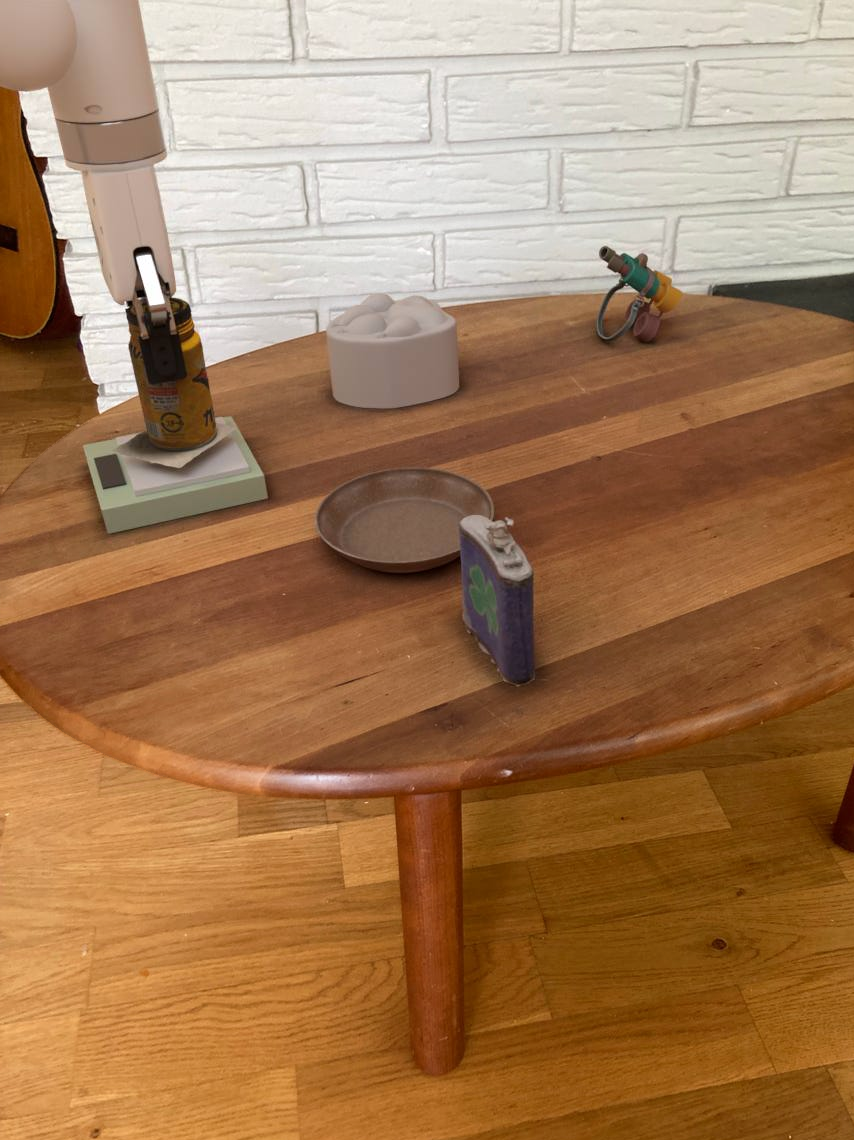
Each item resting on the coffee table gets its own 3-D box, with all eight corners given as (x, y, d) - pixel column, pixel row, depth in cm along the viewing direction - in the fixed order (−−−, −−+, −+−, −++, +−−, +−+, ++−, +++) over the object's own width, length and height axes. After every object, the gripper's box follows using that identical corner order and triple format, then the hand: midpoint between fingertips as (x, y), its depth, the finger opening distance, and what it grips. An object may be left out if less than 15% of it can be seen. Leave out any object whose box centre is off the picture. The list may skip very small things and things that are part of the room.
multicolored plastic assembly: (639, 368, 122) (693, 292, 117) (574, 331, 118) (627, 250, 113) (620, 337, 129) (670, 263, 124) (558, 300, 125) (607, 223, 121)
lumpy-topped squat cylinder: (468, 393, 113) (465, 312, 107) (350, 418, 109) (341, 335, 103) (431, 357, 120) (427, 280, 115) (319, 379, 116) (310, 300, 111)
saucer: (409, 611, 82) (407, 581, 80) (281, 545, 90) (277, 517, 88) (530, 530, 91) (530, 503, 89) (404, 477, 99) (402, 450, 97)
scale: (108, 534, 92) (99, 503, 90) (89, 467, 101) (81, 439, 100) (268, 498, 96) (263, 468, 94) (235, 438, 106) (230, 410, 104)
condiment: (237, 428, 98) (216, 298, 91) (180, 470, 92) (151, 334, 84) (172, 414, 100) (146, 287, 93) (112, 454, 94) (79, 321, 87)
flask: (456, 619, 81) (452, 495, 75) (492, 609, 82) (490, 485, 75) (508, 691, 74) (508, 561, 68) (546, 679, 75) (550, 550, 69)
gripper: (49, 121, 86) (102, 338, 97) (74, 172, 74) (131, 414, 85) (144, 111, 89) (185, 324, 100) (184, 159, 76) (226, 396, 87)
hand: (160, 363), depth 92 cm, fingers closed on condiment, 6 cm apart
